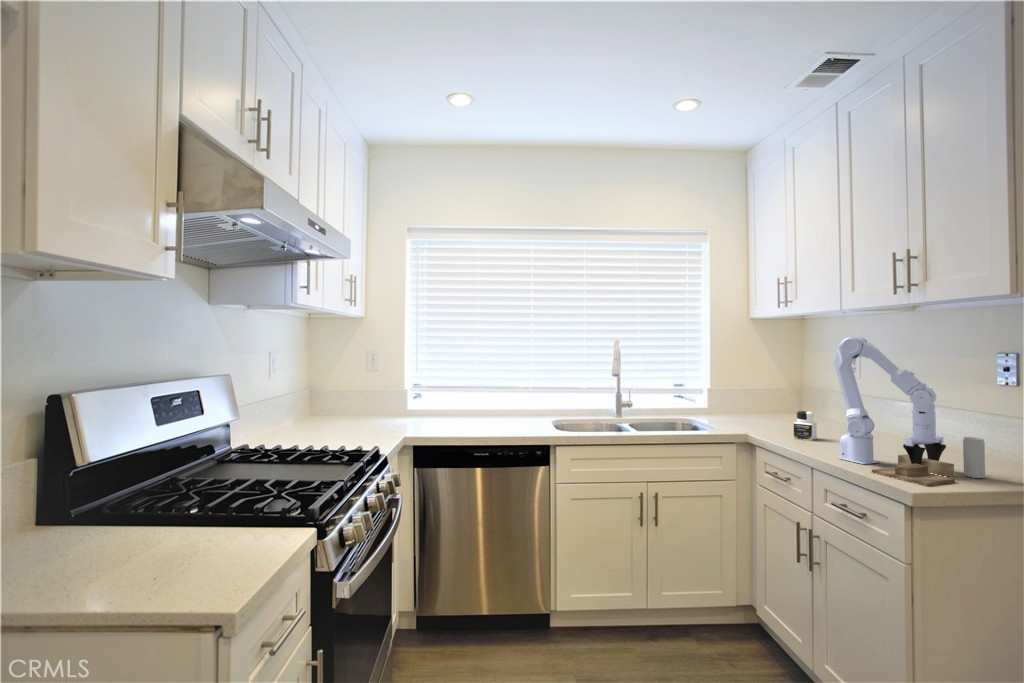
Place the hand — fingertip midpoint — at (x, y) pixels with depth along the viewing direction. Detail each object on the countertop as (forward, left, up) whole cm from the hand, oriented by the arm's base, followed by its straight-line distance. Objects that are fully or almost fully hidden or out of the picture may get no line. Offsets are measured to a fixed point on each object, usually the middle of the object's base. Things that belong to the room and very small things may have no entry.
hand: (924, 466), depth 157 cm
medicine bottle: (-54, +10, -2) cm, 55 cm away
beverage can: (+10, +6, -2) cm, 12 cm away
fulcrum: (+4, -12, -1) cm, 13 cm away
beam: (0, 0, -2) cm, 2 cm away
